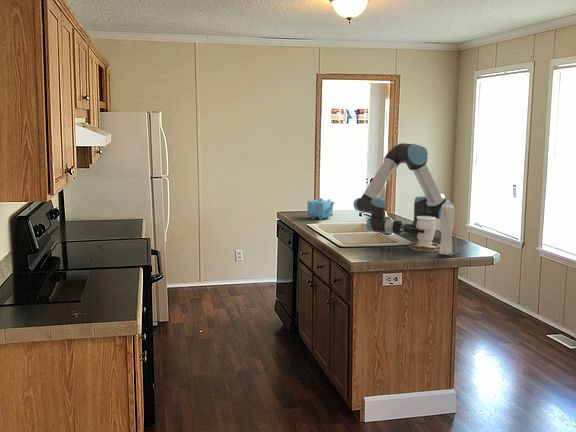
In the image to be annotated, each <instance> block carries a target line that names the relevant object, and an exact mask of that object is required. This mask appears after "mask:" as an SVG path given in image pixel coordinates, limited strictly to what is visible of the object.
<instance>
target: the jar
mask: <svg viewBox="0 0 576 432" xmlns="http://www.w3.org/2000/svg"><path fill="white" fill-rule="evenodd" d="M417 219H418V220H417V224H416V228H418V230H419V228H422V229H431V234H420V233H418V235H416V239H417V241H416V242H417V243H418V244H420V245H432V244H433V243H434V242H433V240H434V237H435V234H436V231H435V226H436V220H437V218H435V217H432V216H417Z"/></svg>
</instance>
